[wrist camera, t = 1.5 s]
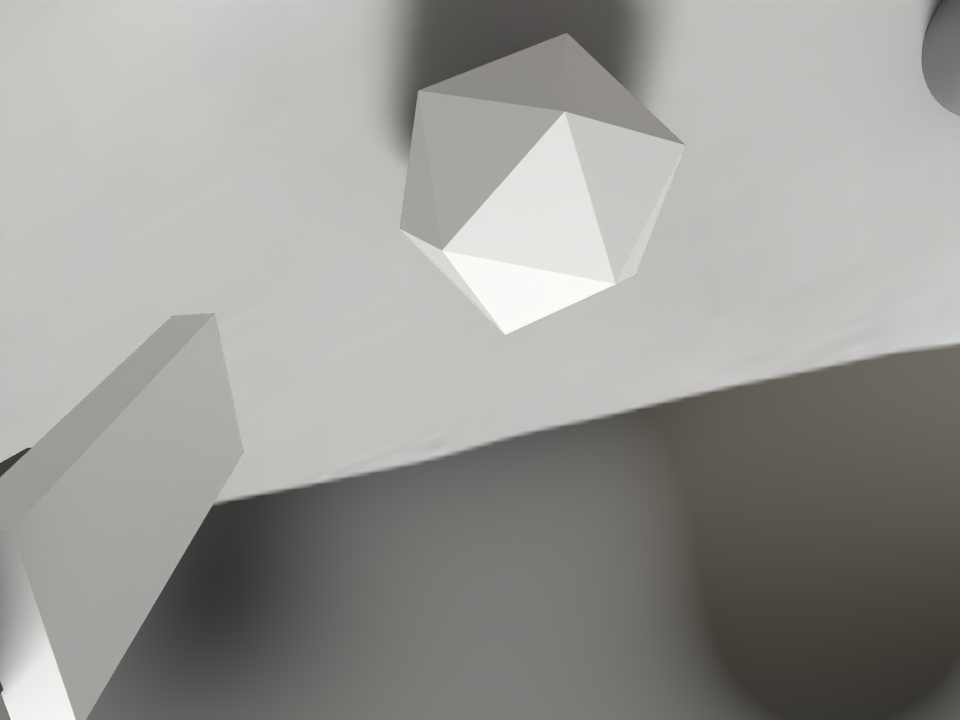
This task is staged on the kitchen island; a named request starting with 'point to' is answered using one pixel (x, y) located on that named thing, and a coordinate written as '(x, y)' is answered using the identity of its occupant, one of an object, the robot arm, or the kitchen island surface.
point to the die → (535, 180)
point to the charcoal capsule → (943, 55)
